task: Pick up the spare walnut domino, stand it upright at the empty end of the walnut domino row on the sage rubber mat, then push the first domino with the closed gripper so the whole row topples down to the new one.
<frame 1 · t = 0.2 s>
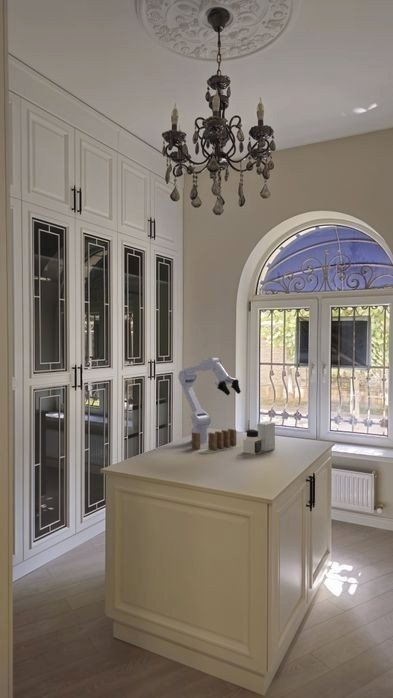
hand: (234, 393, 244), 31 cm above the table, tool tilted 45°, fingers open, 7 cm apart
domino 4: (212, 449, 247), resting on domino mat
domino 1: (232, 445, 257), resting on domino mat
skincare box: (266, 449, 249), on the table
end domino: (195, 449, 250), on the table
domino mat: (219, 448, 250), on the table
medicine bottle: (252, 452, 243), on the table
domino 2: (225, 446, 254), resting on domino mat
domino 3: (219, 448, 250), resting on domino mat
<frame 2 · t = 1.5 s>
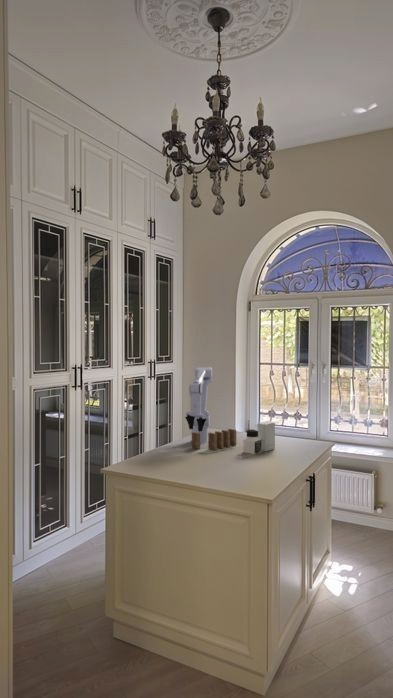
hand: (195, 430, 250), 10 cm above the table, tool pointing down, fingers open, 7 cm apart
nothing on the table moved.
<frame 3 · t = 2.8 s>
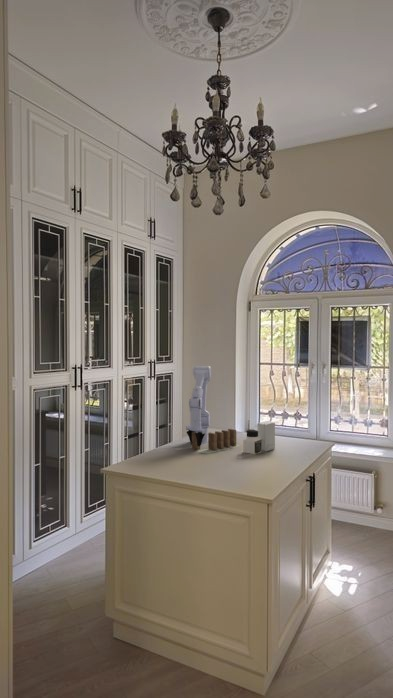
hand: (195, 444, 250), 2 cm above the table, tool pointing down, fingers closed on end domino, 5 cm apart
end domino: (195, 449, 250), on the table, touching gripper
everything else where it was.
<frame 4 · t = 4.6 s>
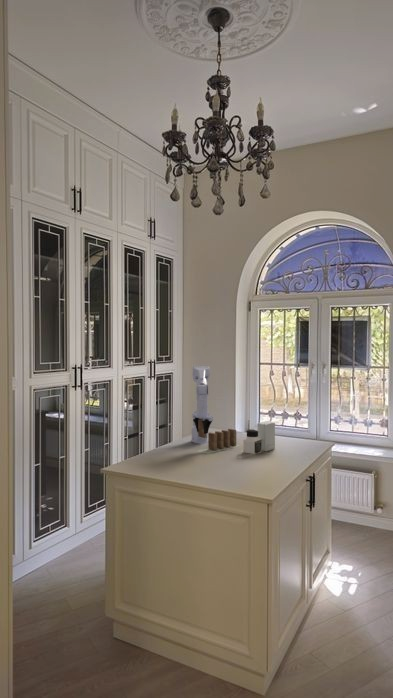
hand: (202, 432, 245), 10 cm above the table, tool pointing down, fingers closed on end domino, 5 cm apart
end domino: (202, 437, 245), point 8 cm above the table, touching gripper
everything else where it was.
when the fingers open (3 cm above the table, at t = 6.5 s): end domino stays where it is, resting on domino mat.
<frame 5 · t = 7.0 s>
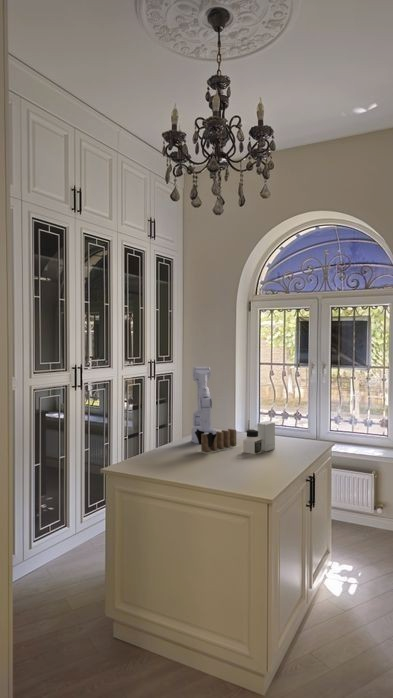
hand: (205, 445, 244), 3 cm above the table, tool pointing down, fingers open, 7 cm apart
end domino: (205, 451, 244), resting on domino mat
everything else where it was.
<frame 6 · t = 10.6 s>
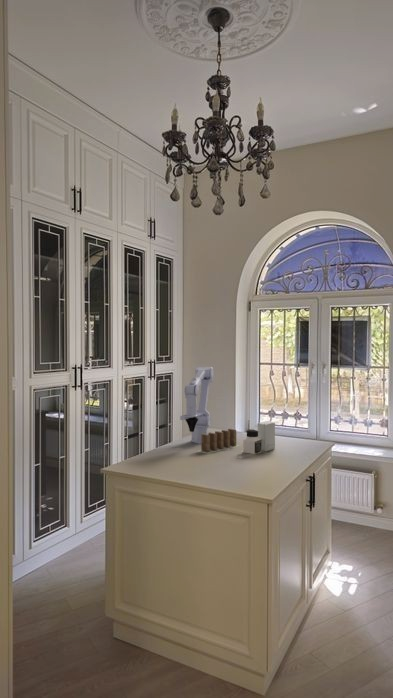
hand: (191, 431, 249), 10 cm above the table, tool pointing down, fingers closed
nothing on the table moved.
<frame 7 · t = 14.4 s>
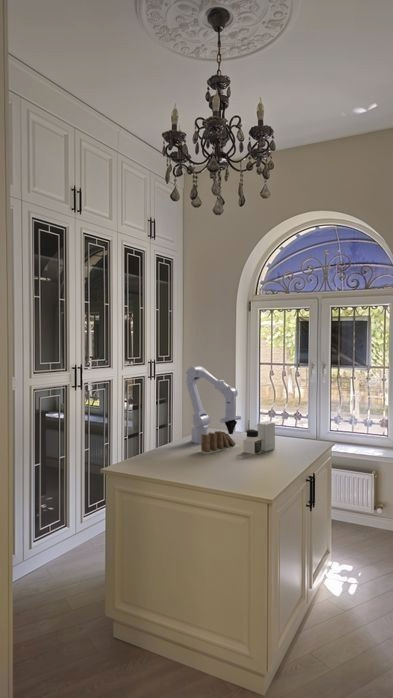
hand: (230, 433, 256), 7 cm above the table, tool pointing down, fingers closed
domino 1: (231, 444, 257), point 1 cm above the table, tilted 43°, touching domino mat
domino 2: (225, 446, 254), point 1 cm above the table, tilted 24°, touching domino 3, domino mat
domino 3: (219, 448, 250), resting on domino mat, touching domino 2
everything else where it was.
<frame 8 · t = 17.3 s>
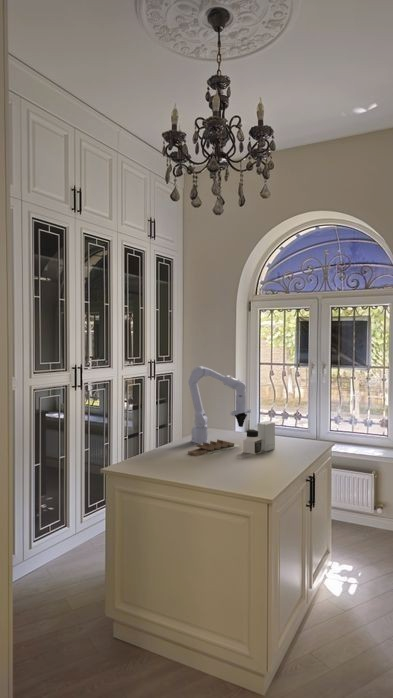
hand: (240, 426, 261), 10 cm above the table, tool pointing down, fingers closed
domino 4: (210, 448, 246), point 1 cm above the table, tilted 70°, touching domino 3, domino mat, end domino
domino 1: (231, 444, 256), point 1 cm above the table, tilted 72°, touching domino 2, domino mat
end domino: (204, 450, 243), point 1 cm above the table, tilted 92°, touching domino 4, domino mat
domino 2: (224, 445, 253), point 1 cm above the table, tilted 72°, touching domino 1, domino 3, domino mat
domino 3: (217, 447, 250), point 1 cm above the table, tilted 71°, touching domino 2, domino 4, domino mat
everything else where it was.
at the end: end domino tilted 92°; domino 3 tilted 71°; end domino inside the target area (0.6 cm from its centre), point 1.2 cm above the table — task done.
